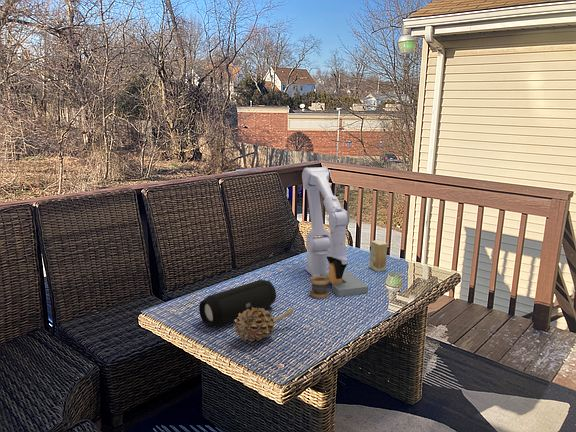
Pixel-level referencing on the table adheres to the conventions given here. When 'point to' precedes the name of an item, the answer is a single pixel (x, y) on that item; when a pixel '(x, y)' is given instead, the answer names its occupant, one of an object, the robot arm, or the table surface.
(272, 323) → the brown knobbly handled piece
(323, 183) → the robot arm
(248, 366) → the table surface
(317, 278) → the bobbin post
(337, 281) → the orange rectangular block
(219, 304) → the portable speaker
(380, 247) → the skincare box
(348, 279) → the notched board
